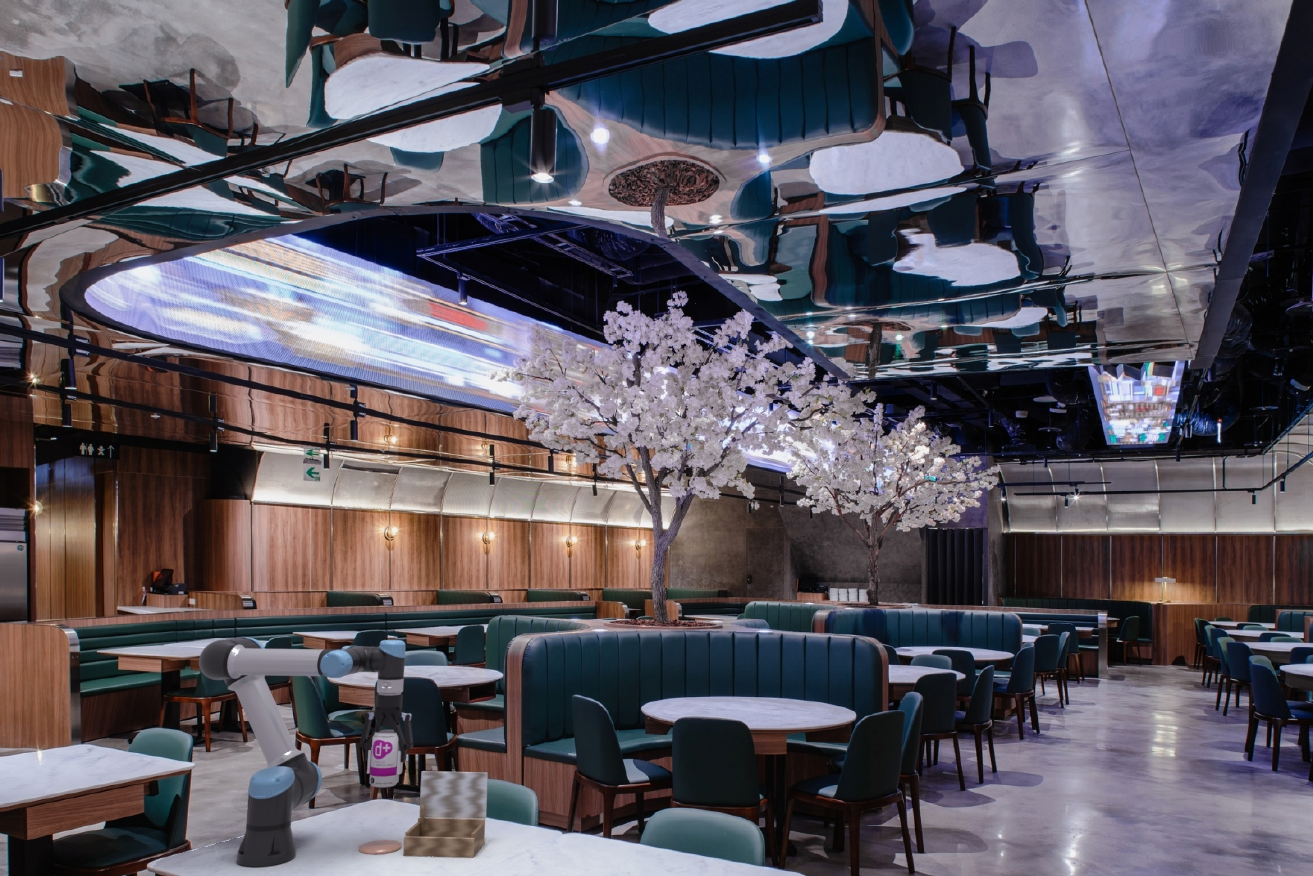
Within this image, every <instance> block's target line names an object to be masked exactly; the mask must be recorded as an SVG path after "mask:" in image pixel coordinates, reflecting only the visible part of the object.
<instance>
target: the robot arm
mask: <svg viewBox="0 0 1313 876" xmlns="http://www.w3.org/2000/svg"><path fill="white" fill-rule="evenodd" d="M406 657H407V656H406V643H405V641H403V640H401V639H399V640H398V639H387V640H386V639H384V640H381V641H380V642H379V646H363V645H362V646H361V645H360V646H359V645H345V646H343V647H342V648H341V649H307V648H306V649H302V648H301V649H299V648H265V646H264V645H263V644H262V643H261V642H260V641H259V640H258V639H255V638H253V637H248V636H239V637H233V638H226V639H225V638H224V639H218V640H215V641H212V642H210V643H209V644H208V645H206V646H205V647H204V648H203V650H202V651H201V653H200V655H199V658H198V665H199V669H200V671H201V672H202V674H203V675H204V676H205V677H206V678H208V679H210V680H214V681H222V680H223V681H224V683H225V686H226V687H227V690H229V691H234V692H235V694H236V695H237V699H238V701H239V702H240V705H241V707H242V709H243V712H244V713H245V716H246V718H247V720H248V723H249V725H250V727H251V729H252V731H253V734H254V736H255V738H256V741H257V743H258V745H259V747H260V749H261V752H262V754H263V757H264V758H265V761H266V763H267V766H266V768H263V769H260V770H258V771H256V772H255V773H253V774H252V776H251V777H250V779H249V785H248V788H247V792H248V794H247V806H246V807H247V809H246V810H247V811H246V822H245V823H246V824H245V825H246V826H245V832H244V835H243V837H242V841H241V843H240V846H239V848H238V850H237V855H236V863H237V864H238V865H241V866H243V867H252V868H253V867H256V868H257V867H269V866H275V865H279V864H280V865H281V864H284V863H286V862H289V861H291V860H293V859H294V858H295V857H296V852H297V846H296V841H295V838H294V834H293V831H292V814H293V813H292V812H293V810H295V809H296V808H298V807H300V806H303V805H305V804H306V803H309V802H310V801H311V800H312V799H313V798H315V797H316V795H317V794H318V793H319V791H320V789H321V786H322V782H323V775H322V771H321V769H320V767H319V766H318V765H317V764H316V763H315V762H312V761H310V760H308V758H307V755H306V753H305V751H303V750H300V749H297V746H296V744H295V743H294V741H293V738H292V736H291V734H290V731H289V730H288V728H287V725H286V722H285V720H284V718H283V717H282V713H281V712H280V709H279V708H278V707H279V706H278V705H277V703H276V701H275V699H274V696H273V695H272V692H271V689H270V687H269V685H268V683H267V681H266V678H265V677H266V676H279V677H280V676H281V677H282V676H285V677H287V676H288V677H289V676H291V677H295V676H296V677H327V678H329V679H341V678H343V677H345V676H346V677H347V676H351V675H353V674H357V673H377V683H376V684H377V685H376V692H377V695H376V697H375V698H376V699H375V710H374V711H373V712H371V711H368V712H366V713H364V724H363V728H362V732H361V736H360V741H359V743H358V745H359V748H363V749H364V750H365V752H364V761H365V762H367V766H366V768H367V769H366V774H369V775H370V767H371V753H372V738H373V736H374V734H375V732H376V733H377V732H379V731H380V730H382V728H383V727H385V726H387V727H391V728H392V730H394V732H395V733H397V736H398V744H399V746H400V749H401V750H400V751H398V759H397V775H399V776H400V775H401V774H402V773H403V767H404V766H403V764H404V763H405V762H406V761H407V754H408V753H407V752H408V750H410V749H412V748H413V747H414V738H413V730H412V719H413V718H412V717H413V713H411V712H410V713H405V712H404V711H403V697H404V696H403V694H402V693H403V692H404V681H405V679H404V678H405V676H404V675H405V664H406V662H405V661H406ZM374 718H375V719H376V723H375V725H374V728H373V731H372V733H371V735H370V736H369V734H370V730H371V726H372V722H373V720H374ZM401 718H402V720H403V722H404V723H403V724H404V734H403V731H402V728H401V724H400V720H401ZM404 735H405V736H404Z"/></svg>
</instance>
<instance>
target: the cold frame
mask: <svg viewBox="0 0 1313 876" xmlns="http://www.w3.org/2000/svg"><path fill="white" fill-rule="evenodd" d="M420 775H421V776H420V777H421V778H420V794H419V795H420V798H419V817H418V818H417V822H416V823H415V824H413V825H412V827H411V826H410V828H408V829H407V831H406V832H405V833H404V834H405V835H404V837H403V852H402V853H403V854H402V855H403V857H425V858H426V857H427V858H428V856H430V857H431V858H433V857H434V858H436V857H437V858H464V859H465V858H467V859H468V858H471V859H472V858H473V859H474V857H475V856H476V855H477V853H478V852H479V851H480V850H481V849H482V847H483V846H484V845H485V837H486V836H485V835H486V833H485V832H486V819H487V805H488V804H487V803H488V801H487V800H488V799H487V798H488V772H485V771H484V772H483V771H482V772H480V771H477V772H476V771H475V772H474V771H471V772H470V771H433V770H431V771H429V770H428V771H427V770H426V771H425V770H423V771H421V774H420ZM432 856H433V857H432Z"/></svg>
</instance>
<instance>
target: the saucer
mask: <svg viewBox="0 0 1313 876" xmlns="http://www.w3.org/2000/svg"><path fill="white" fill-rule="evenodd" d="M402 848H403V843H402V842H401V841H399V840H394V839H393V840H392V839H377V840H371V841H367V842H364V843H362V844H360V845H359V846H358V852H359V853H361V854H365V855H374V856H375V855H386V854H392V853H394V852H397V851H399V850H401V849H402Z"/></svg>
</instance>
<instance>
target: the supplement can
mask: <svg viewBox="0 0 1313 876" xmlns="http://www.w3.org/2000/svg"><path fill="white" fill-rule="evenodd" d="M371 749H372V753H371V767H370V774H369V784H370V785H371V787H375V788H390V787H395V786H396V785H397V783H399V779H400V778H399V777H400V774H399V775H397V759H398V751H400V750H401V749H400V746H399V744H398V736H397V733H395V732H394V730H393V729H381V730H380V731H379V732H377V733H376V732H375V734H374V736H373V738H372V748H371Z"/></svg>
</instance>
